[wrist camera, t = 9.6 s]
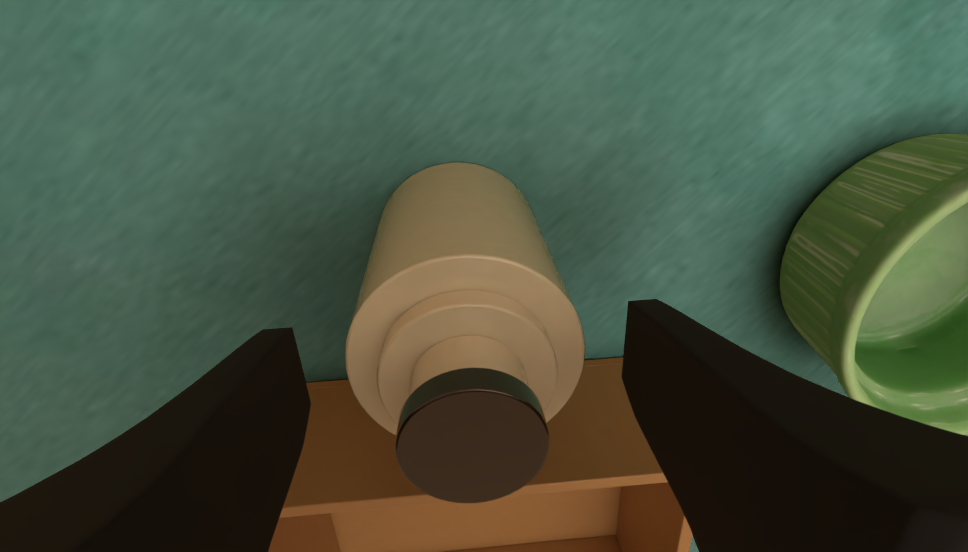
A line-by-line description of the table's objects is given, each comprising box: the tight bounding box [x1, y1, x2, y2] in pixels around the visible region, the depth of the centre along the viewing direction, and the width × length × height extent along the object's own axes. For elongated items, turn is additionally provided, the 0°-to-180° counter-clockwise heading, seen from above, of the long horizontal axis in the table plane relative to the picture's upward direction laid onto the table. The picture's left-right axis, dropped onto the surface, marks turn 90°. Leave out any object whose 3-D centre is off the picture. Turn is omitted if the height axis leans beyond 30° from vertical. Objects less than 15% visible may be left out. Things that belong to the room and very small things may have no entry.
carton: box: [268, 357, 693, 552], centre depth 19 cm, size 10×13×5 cm
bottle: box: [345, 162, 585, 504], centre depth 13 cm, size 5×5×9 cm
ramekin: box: [780, 134, 968, 435], centre depth 16 cm, size 9×9×4 cm
